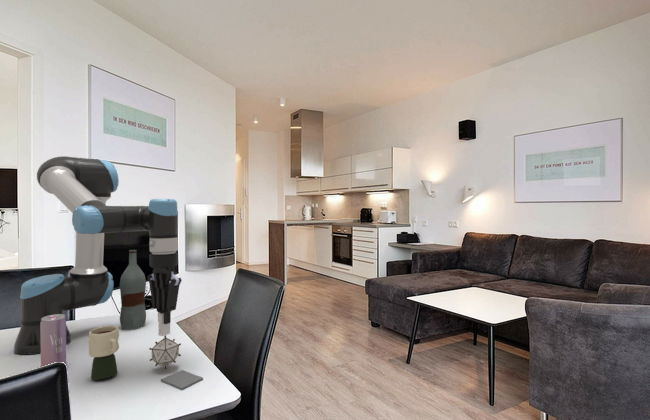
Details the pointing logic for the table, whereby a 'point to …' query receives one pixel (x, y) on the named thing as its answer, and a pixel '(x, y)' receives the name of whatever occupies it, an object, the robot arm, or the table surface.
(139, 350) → the table surface
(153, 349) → the game die
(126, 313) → the bottle
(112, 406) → the table surface
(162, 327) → the robot arm
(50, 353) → the beverage can
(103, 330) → the character mug
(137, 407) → the table surface
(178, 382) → the grey rubber mat
